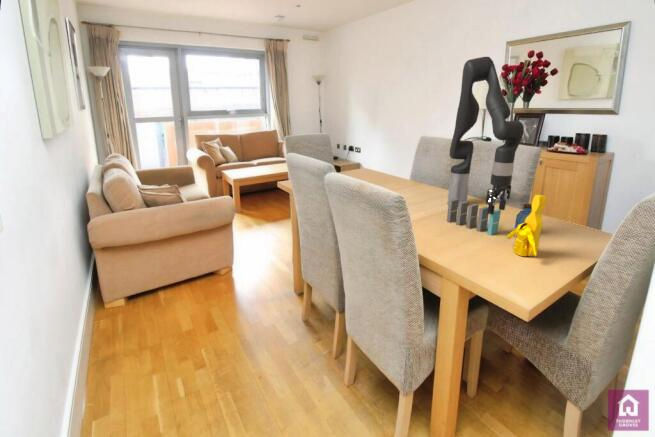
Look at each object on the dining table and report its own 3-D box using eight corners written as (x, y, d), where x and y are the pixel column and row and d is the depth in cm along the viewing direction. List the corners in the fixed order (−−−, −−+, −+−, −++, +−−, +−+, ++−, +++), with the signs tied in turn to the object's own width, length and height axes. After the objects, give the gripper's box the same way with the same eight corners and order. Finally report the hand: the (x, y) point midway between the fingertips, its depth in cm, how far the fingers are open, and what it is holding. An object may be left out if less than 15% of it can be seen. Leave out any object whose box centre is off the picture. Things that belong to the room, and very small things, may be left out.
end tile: (493, 231, 153) (497, 209, 150) (497, 232, 152) (500, 210, 149) (487, 234, 150) (490, 211, 147) (490, 235, 149) (494, 212, 146)
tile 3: (472, 225, 161) (475, 203, 158) (475, 226, 159) (478, 204, 156) (465, 227, 158) (468, 205, 155) (469, 228, 157) (472, 206, 153)
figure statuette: (500, 244, 140) (509, 189, 133) (519, 243, 141) (529, 188, 133) (529, 265, 123) (541, 203, 116) (550, 263, 124) (563, 202, 117)
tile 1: (453, 219, 168) (455, 198, 165) (456, 220, 167) (458, 199, 164) (446, 221, 166) (448, 200, 162) (449, 222, 164) (452, 201, 161)
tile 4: (482, 228, 157) (485, 206, 154) (486, 229, 156) (489, 207, 152) (476, 230, 154) (479, 208, 151) (479, 231, 153) (483, 209, 150)
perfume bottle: (530, 230, 154) (535, 203, 150) (532, 235, 149) (538, 207, 145) (514, 228, 156) (518, 202, 152) (516, 233, 151) (521, 206, 147)
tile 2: (462, 222, 165) (465, 201, 161) (465, 223, 163) (468, 202, 160) (456, 224, 162) (458, 203, 159) (459, 225, 160) (461, 203, 157)
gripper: (502, 169, 150) (496, 206, 155) (483, 173, 142) (477, 213, 147) (520, 172, 144) (513, 210, 149) (501, 177, 136) (495, 217, 141)
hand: (496, 211), depth 148 cm, fingers open, 8 cm apart
